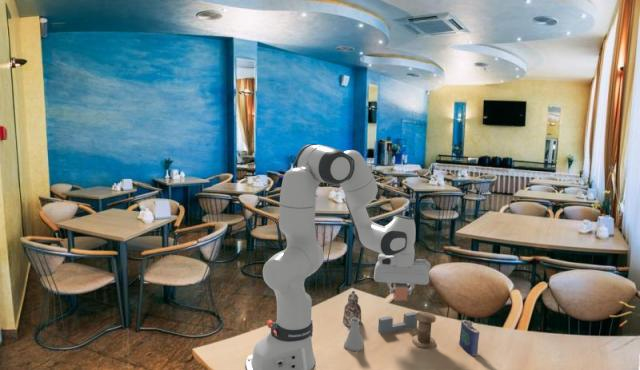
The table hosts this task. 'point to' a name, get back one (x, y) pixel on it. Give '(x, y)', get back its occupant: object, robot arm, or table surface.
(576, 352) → the table surface
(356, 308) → the figurine
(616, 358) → the table surface
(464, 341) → the flask
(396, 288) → the block
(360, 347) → the flask
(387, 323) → the bracket
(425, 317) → the brown spool-shaped piece
